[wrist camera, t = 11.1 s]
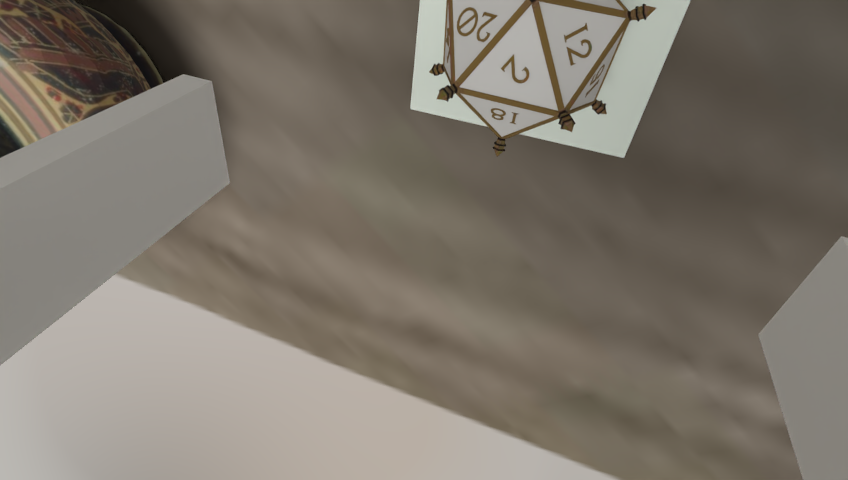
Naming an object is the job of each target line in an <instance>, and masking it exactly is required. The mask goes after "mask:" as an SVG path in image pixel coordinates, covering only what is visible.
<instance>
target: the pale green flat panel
mask: <svg viewBox="0 0 848 480" xmlns="http://www.w3.org/2000/svg"><path fill="white" fill-rule="evenodd" d="M620 1H621V2H622V3H623V5H624V6H625V7H626V8H627V9H628V10H629V11H631V10H633V9H635V7H636V6H639V7H640V6H642V4H646V6H651V7H655V8H656V9H655V10H654V11H653V12H652V13H651V14H650V15H649V16H648V17H647V18H646V20H644V19H641V20H639V22H638V21H637V20H631V21H630V22H629V24H628V27H627V29H626V31H625V34H624V36H623V38H622V40H621V43H620V45H619V47H618V50H617V52H616V54H615V57H614V59H613V61H612V64H611V66H610V68H609V71H608V73H607V75H606V78H605V80H604V82H603V85H602V87H601V89H600V92H599V94H598V96H597V100H598V101H601V100H602V103H603V104H604V103H606V112H607V114H599V115H598V114H597V113H596V112H595V111H594V110H593V109H592V106H589V107H586V108H584V109H581V110H579V111H577V112H574V113H572V114H570V115H571V117H572V118H573V120H574V122H575V123H576V124H574V127H573V131H572V132H570V131H568V130H565V129H561V125H559V124H558V123H559V119H557V120H554V121H552V122H549V123H546V124H544V125H541V126H539V127H536V128H533V129H531V130H528V131H525V132H523V133H520V134H521V135H526V136H530V137H534V138H539V139H543V140H547V141H552V142H556V143H561V144H565V145H569V146H574V147H578V148H582V149H587V150H591V151H595V152H600V153H604V154H608V155H613V156H617V157H622V158H624V157H625V154H626V152H627V150H628V147H629V145H630V143H631V140H632V138H633V135H634V133H635V131H636V128H637V126H638V124H639V121H640V119H641V117H642V114H643V112H644V109H645V107H646V105H647V102H648V100H649V98H650V95H651V93H652V90H653V88H654V86H655V83H656V81H657V79H658V76H659V74H660V72H661V69H662V67H663V64H664V62H665V60H666V57H667V55H668V53H669V50H670V48H671V46H672V43H673V41H674V38H675V36H676V34H677V31H678V29H679V27H680V24H681V22H682V19H683V17H684V15H685V12H686V10H687V8H688V5H689V3H690V1H691V0H620ZM446 2H447V0H420V6H419V17H418V29H417V40H416V51H415V62H414V73H413V84H412V95H411V106H410V109H412V110H417V111H421V112H426V113H430V114H434V115H439V116H443V117H447V118H452V119H456V120H460V121H465V122H469V123H473V124H478V125H482V126H487V125H486V124H485V123H484V122H483V121H482V120H481V119H480V118H479V117H478V116H477V115H476V114H475V113H474V112H473V111H472V110H471V109H470V108H469V107H468V106H467V105H466V104H465V103H464V102H463V101H462V100H461V99H460V98H459V97H458V96H457V95H456V94H454V95H453V98H450V99H449V101H448V102H447V101H445V100H439V99H437V96H438V94H439V90H440V89H441V88H443V87H446V86H447V85H449V86H451V85H450V83H449V80H448V78H447V76H446V74H445V72H443V74H439V75H438V76H434V74H431V73H429V71H430V70H431V69H432V67H433V65H434V64H436V65H437V64H438V63H440V64H443V55H444V37H445V19H446ZM487 127H488V126H487Z"/></svg>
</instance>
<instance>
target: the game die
mask: <svg viewBox="0 0 848 480" xmlns="http://www.w3.org/2000/svg"><path fill="white" fill-rule="evenodd" d="M655 9H656V8H655V7H651V6H646V4H642V6H640V7H639V6H636V7H635V9H633V10H631V11H629V10H628V9H627V8H626V7H625V6H624V5H623V3H622V2H621V1H620V0H447V2H446V19H445V37H444V55H443V64H440V63H438V64H437V65H436V64H434V65H433V67H432V69H431V70H430V71H429V73H431V74H434V76H438V75H439V74H443V72H445V74H446V76H447V78H448V80H449V83H450V85H451V86H449V85H447V86H446V87H443V88H441V89H440V90H439V94H438V96H437V99H439V100H445V101H447V102H448V101H449V99H450V98H453V95H454V94H456V95H457V96H458V97H459V98H460V99H461V100H462V101H463V102H464V103H465V104H466V105H467V106H468V107H469V108H470V109H471V110H472V111H473V112H474V113H475V114H476V115H477V116H478V117H479V118H480V119H481V120H482V121H483V122H484V123H485V124H486V125H487V126H488V127H489V128H490V129H491V130H492V131H493V132H494V133H495V135H496V136H497V137H498V139H497V141H496V142H495V143H494V144H495V146H494V147H493V149H494V150H495V153H496V156H498V155H499V154H501V153H502V152H503V151H505V149H504V147H505V146H506V144H505V139H507V138H510V137H512V136H515V135H517V134H520V133H523V132H525V131H528V130H531V129H533V128H536V127H539V126H541V125H544V124H546V123H549V122H552V121H554V120H557V119H559V123H558V124H559V125H561V129H565V130H568V131H570V132H572V131H573V127H574V124H576V123H575V122H574V120H573V118H572V117H571V115H570V114H572V113H574V112H577V111H579V110H581V109H584V108H586V107H589V106H592V109H593V110H594V111H595V112H596V113H597V114H598V115H599V114H607V112H606V103H604V104H603V103H602V100H601V101H598V100H597V96H598V94H599V92H600V89H601V87H602V85H603V82H604V80H605V78H606V75H607V73H608V71H609V68H610V66H611V64H612V61H613V59H614V57H615V54H616V52H617V50H618V47H619V45H620V43H621V40H622V38H623V36H624V34H625V31H626V29H627V27H628V24H629V22H630V21H631V20H637V21H638V22H639V20H641V19H644V20H646V18H647V17H648V16H649V15H650V14H651V13H652V12H653V11H654V10H655Z"/></svg>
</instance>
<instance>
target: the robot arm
mask: <svg viewBox="0 0 848 480" xmlns="http://www.w3.org/2000/svg"><path fill="white" fill-rule="evenodd" d="M229 183H230V180H229V175H228V169H227V163H226V158H225V152H224V146H223V141H222V135H221V129H220V124H219V118H218V112H217V107H216V101H215V96H214V90H213V84H212V81H209V80H205V79H201V78H197V77H193V76H189V75H185V74H182V75H180V76H178V77H176V78H174V79H171V80H169V81H167V82H165V83H163V84H161V85H158V86H156V87H154V88H152V89H150V90H147V91H145V92H143V93H141V94H139V95H137V96H134V97H132V98H130V99H128V100H126V101H123V102H121V103H119V104H117V105H115V106H112V107H110V108H108V109H106V110H104V111H102V112H99V113H97V114H95V115H93V116H91V117H88V118H86V119H84V120H82V121H80V122H78V123H75V124H73V125H71V126H69V127H67V128H64V129H62V130H60V131H58V132H56V133H53V134H51V135H49V136H47V137H45V138H43V139H40V140H38V141H36V142H34V143H32V144H29V145H27V146H25V147H23V148H21V149H19V150H16V151H14V152H12V153H10V154H8V155H5V156H3V157H1V158H0V365H1V364H3V363H4V362H5V361H6V360H8V359H9V358H10V357H11V356H13V355H14V354H15V353H16V352H18V351H19V350H20V349H21V348H23V347H24V346H25V345H26V344H28V343H29V342H30V341H31V340H33V339H34V338H35V337H36V336H38V335H39V334H40V333H42V332H43V331H44V330H45V329H46V328H48V327H49V326H50V325H52V324H53V323H54V322H55V321H57V320H58V319H59V318H60V317H62V316H63V315H64V314H66V313H67V312H68V311H69V310H71V309H72V308H73V307H74V306H76V305H77V304H78V303H79V302H81V301H82V300H83V299H84V298H85V297H87V296H88V295H89V294H91V293H92V292H93V291H94V290H96V289H97V288H98V287H99V286H101V285H102V284H103V283H105V282H106V281H107V280H108V279H110V278H111V277H112V276H113V275H115V274H116V273H117V272H118V271H120V270H121V269H122V268H123V267H125V266H126V265H127V264H128V263H130V262H131V261H132V260H134V259H135V258H136V257H137V256H139V255H140V254H141V253H142V252H144V251H145V250H146V249H147V248H149V247H150V246H151V245H152V244H154V243H155V242H156V241H157V240H159V239H160V238H161V237H162V236H164V235H165V234H166V233H168V232H169V231H170V230H171V229H173V228H174V227H175V226H176V225H178V224H179V223H180V222H181V221H183V220H184V219H185V218H186V217H188V216H189V215H190V214H191V213H193V212H194V211H195V210H196V209H198V208H199V207H200V206H202V205H203V204H204V203H205V202H207V201H208V200H209V199H210V198H212V197H213V196H214V195H215V194H217V193H218V192H219V191H220V190H222V189H223V188H224V187H225V186H227V185H228V184H229ZM758 335H759V339H760V342H761V345H762V348H763V352H764V355H765V358H766V361H767V365H768V368H769V371H770V374H771V378H772V381H773V384H774V387H775V390H776V394H777V397H778V400H779V403H780V407H781V410H782V413H783V416H784V420H785V423H786V426H787V429H788V433H789V436H790V439H791V442H792V446H793V449H794V452H795V455H796V458H797V462H798V465H799V468H800V471H801V475H802V478H803V480H848V238H846V237H842V236H841V237H840V238H839V240H838V241H837V242H836V243H835V244H834V245H833V247H832V248H831V249H830V250H829V251H828V253H827V254H826V255H825V256H824V257H823V258H822V260H821V261H820V262H819V263H818V264H817V266H816V267H815V268H814V269H813V270H812V271H811V273H810V274H809V275H808V276H807V277H806V279H805V280H804V281H803V282H802V283H801V285H800V286H799V287H798V288H797V289H796V290H795V292H794V293H793V294H792V295H791V296H790V298H789V299H788V300H787V301H786V302H785V303H784V305H783V306H782V307H781V308H780V309H779V311H778V312H777V313H776V314H775V315H774V316H773V318H772V319H771V320H770V321H769V322H768V324H767V325H766V326H765V327H764V328H763V330H762V331H761V332H760V333H759V334H758Z"/></svg>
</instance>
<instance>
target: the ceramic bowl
mask: <svg viewBox="0 0 848 480" xmlns="http://www.w3.org/2000/svg"><path fill="white" fill-rule="evenodd" d="M161 84H163V81H162V78H161V76H160V74H159V73H158V71H157V69H156V68H155V66H154V64H153V63H152V61H151V59H150V58H149V57H148V55H147V54H146V52H145V51H144V50H143V49H142V47H141V46H140V45H139V44H138V43H137V42H136V40H135V39H134V38H133V37H132V36H131V35H130V34H129V33H128V31H127V30H126V29H124V28H123V27H121V26H119V25H118V24H116V23H115V22H114V21H112V20H111V19H110V18H109V17H107V16H106V15H104V14H102V13H100V12H98V11H96V10H94V9H92V8H90V7H87V6H84V5H80V4H78V3H76V2H75V1H74V0H0V158H1V157H3V156H5V155H8V154H10V153H12V152H14V151H16V150H19V149H21V148H23V147H25V146H27V145H29V144H32V143H34V142H36V141H38V140H40V139H43V138H45V137H47V136H49V135H51V134H53V133H56V132H58V131H60V130H62V129H64V128H67V127H69V126H71V125H73V124H75V123H78V122H80V121H82V120H84V119H86V118H88V117H91V116H93V115H95V114H97V113H99V112H102V111H104V110H106V109H108V108H110V107H112V106H115V105H117V104H119V103H121V102H123V101H126V100H128V99H130V98H132V97H134V96H137V95H139V94H141V93H143V92H145V91H147V90H150V89H152V88H154V87H156V86H158V85H161Z"/></svg>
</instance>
